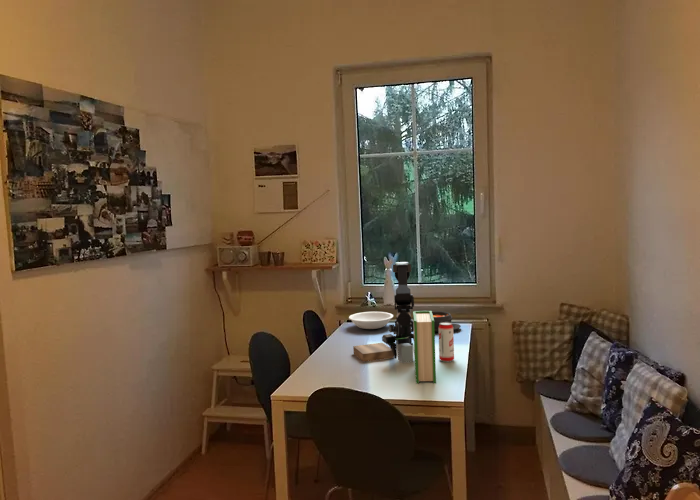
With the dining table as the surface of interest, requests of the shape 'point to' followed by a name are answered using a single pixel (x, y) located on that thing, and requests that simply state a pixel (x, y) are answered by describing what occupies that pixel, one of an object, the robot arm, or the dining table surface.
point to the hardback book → (424, 346)
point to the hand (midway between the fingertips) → (405, 356)
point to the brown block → (373, 352)
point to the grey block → (405, 352)
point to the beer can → (446, 342)
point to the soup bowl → (371, 319)
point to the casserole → (442, 319)
